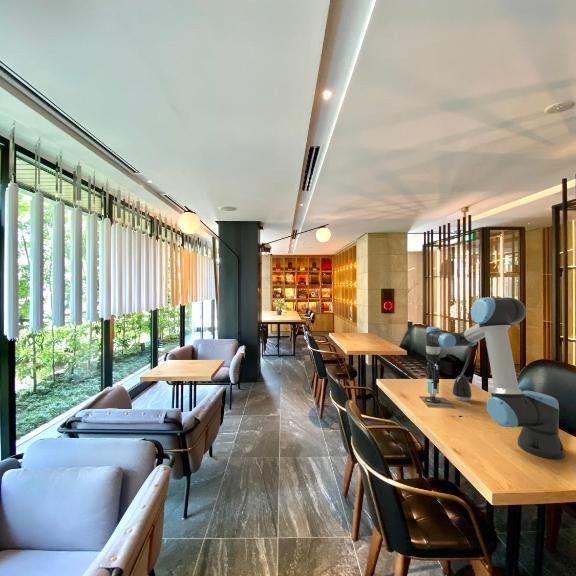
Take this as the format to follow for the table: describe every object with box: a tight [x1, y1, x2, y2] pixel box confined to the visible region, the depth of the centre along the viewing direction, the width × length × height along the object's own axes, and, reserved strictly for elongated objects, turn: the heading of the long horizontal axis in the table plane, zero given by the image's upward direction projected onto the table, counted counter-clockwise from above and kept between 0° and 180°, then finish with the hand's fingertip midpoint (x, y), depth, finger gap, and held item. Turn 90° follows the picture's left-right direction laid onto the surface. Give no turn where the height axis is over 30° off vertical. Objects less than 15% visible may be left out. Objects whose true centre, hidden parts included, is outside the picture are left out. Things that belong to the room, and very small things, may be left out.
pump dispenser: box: [451, 374, 473, 402], centre depth 185 cm, size 10×10×15 cm
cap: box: [426, 378, 440, 395], centre depth 181 cm, size 6×6×7 cm
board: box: [418, 395, 457, 410], centre depth 179 cm, size 18×15×1 cm
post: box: [425, 393, 440, 403], centre depth 181 cm, size 8×8×6 cm
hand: (432, 392), depth 181 cm, fingers closed on cap, 6 cm apart
